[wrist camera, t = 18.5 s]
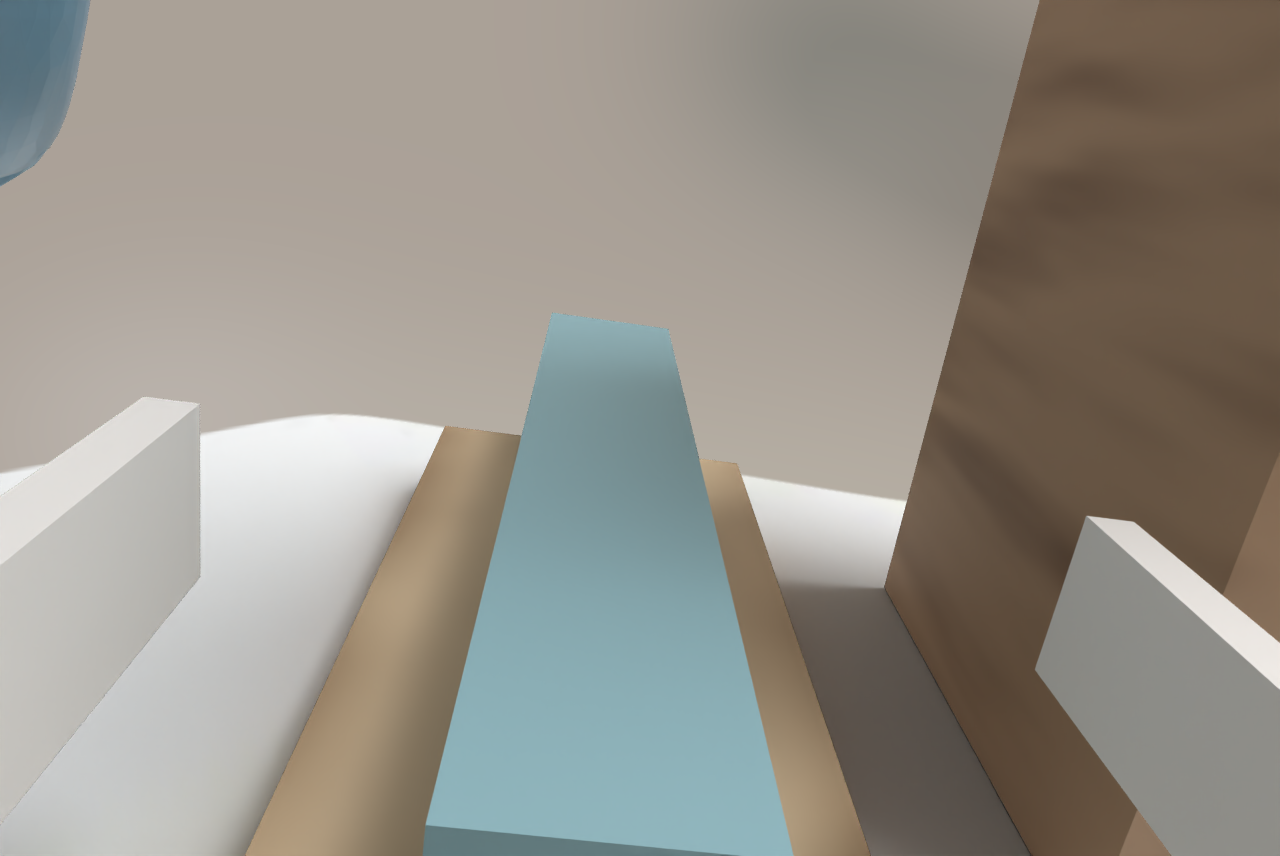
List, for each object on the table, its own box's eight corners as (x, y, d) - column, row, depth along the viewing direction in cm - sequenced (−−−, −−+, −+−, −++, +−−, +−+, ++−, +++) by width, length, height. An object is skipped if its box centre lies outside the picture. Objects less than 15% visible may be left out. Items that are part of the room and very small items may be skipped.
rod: (400, 1092, 12) (426, 825, 10) (538, 422, 34) (551, 312, 33) (728, 1116, 12) (795, 861, 10) (650, 437, 34) (667, 328, 33)
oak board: (221, 1030, 14) (222, 902, 14) (439, 493, 33) (445, 426, 32) (869, 1081, 15) (906, 962, 14) (724, 528, 34) (736, 463, 33)
